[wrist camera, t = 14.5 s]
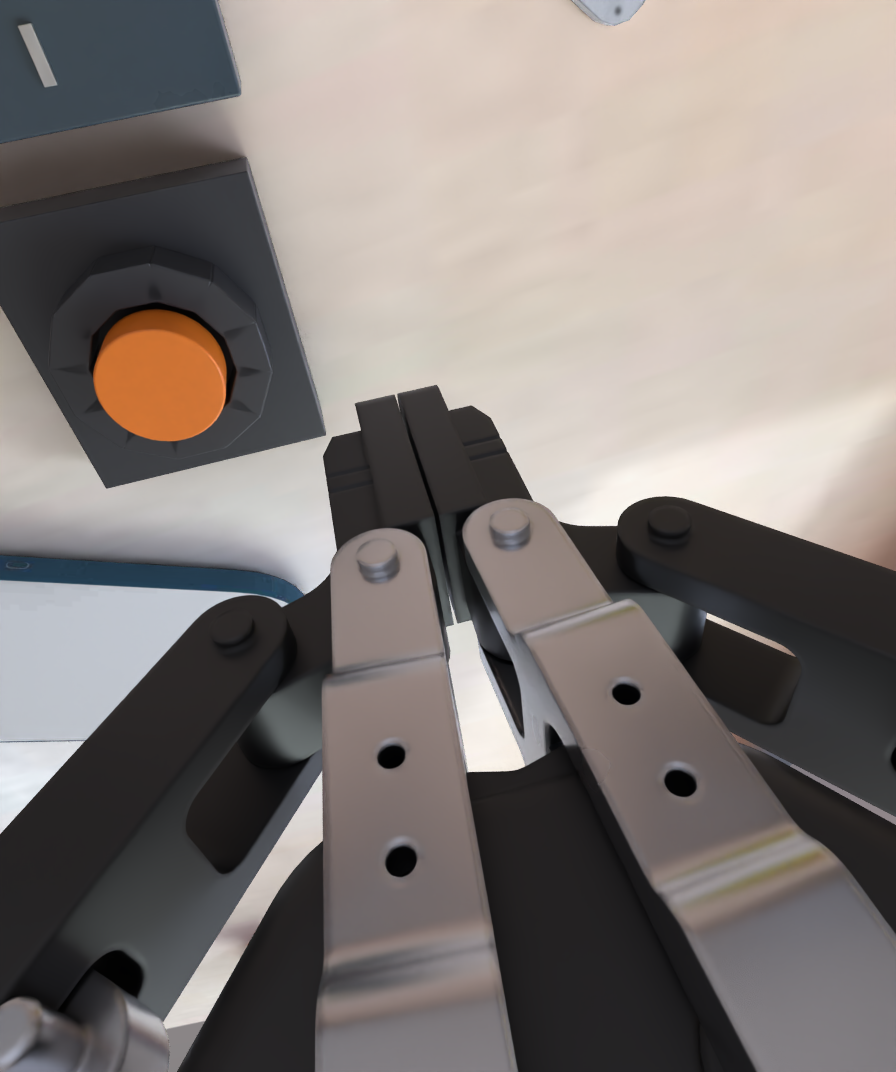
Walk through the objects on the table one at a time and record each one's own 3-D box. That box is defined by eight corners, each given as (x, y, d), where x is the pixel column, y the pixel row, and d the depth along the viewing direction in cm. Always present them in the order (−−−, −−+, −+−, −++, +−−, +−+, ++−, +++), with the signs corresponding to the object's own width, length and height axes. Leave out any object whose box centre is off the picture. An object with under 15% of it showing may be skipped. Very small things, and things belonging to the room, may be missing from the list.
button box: (-23, 212, 23) (-63, 249, 20) (247, 156, 24) (247, 184, 21) (113, 459, 29) (99, 516, 26) (321, 409, 30) (330, 459, 27)
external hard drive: (-206, 713, 34) (-226, 748, 32) (-278, 526, 27) (-308, 559, 26) (286, 710, 42) (288, 738, 41) (319, 566, 36) (323, 593, 34)
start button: (78, 323, 22) (68, 345, 21) (202, 296, 23) (199, 316, 21) (132, 428, 25) (126, 454, 24) (242, 402, 25) (242, 426, 24)
